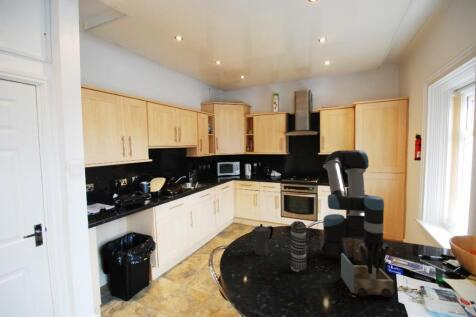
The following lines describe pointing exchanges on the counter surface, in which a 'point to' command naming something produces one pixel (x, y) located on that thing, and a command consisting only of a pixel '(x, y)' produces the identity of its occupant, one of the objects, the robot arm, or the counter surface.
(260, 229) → the coffeepot
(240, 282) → the counter surface
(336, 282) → the counter surface
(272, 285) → the counter surface
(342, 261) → the grey square plate
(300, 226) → the decorative candle
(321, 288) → the counter surface
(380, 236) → the robot arm
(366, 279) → the truck bed
